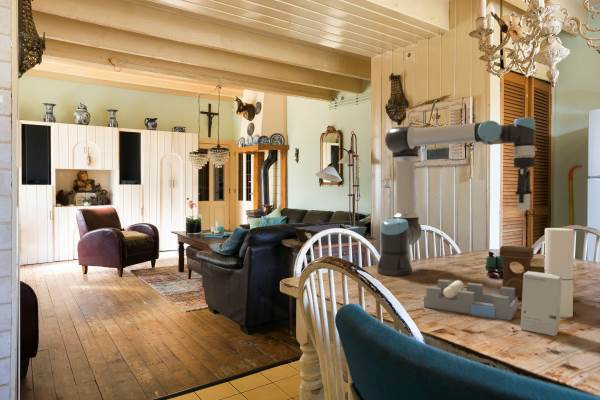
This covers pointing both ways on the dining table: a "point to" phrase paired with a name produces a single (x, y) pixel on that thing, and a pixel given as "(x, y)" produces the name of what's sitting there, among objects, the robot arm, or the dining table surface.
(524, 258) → the wooden toy train
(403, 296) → the dining table surface
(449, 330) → the dining table surface
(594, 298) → the dining table surface
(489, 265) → the binoculars
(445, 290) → the cream round-ended rod
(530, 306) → the skincare box
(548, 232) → the cylindrical container
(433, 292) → the grey notched frame
